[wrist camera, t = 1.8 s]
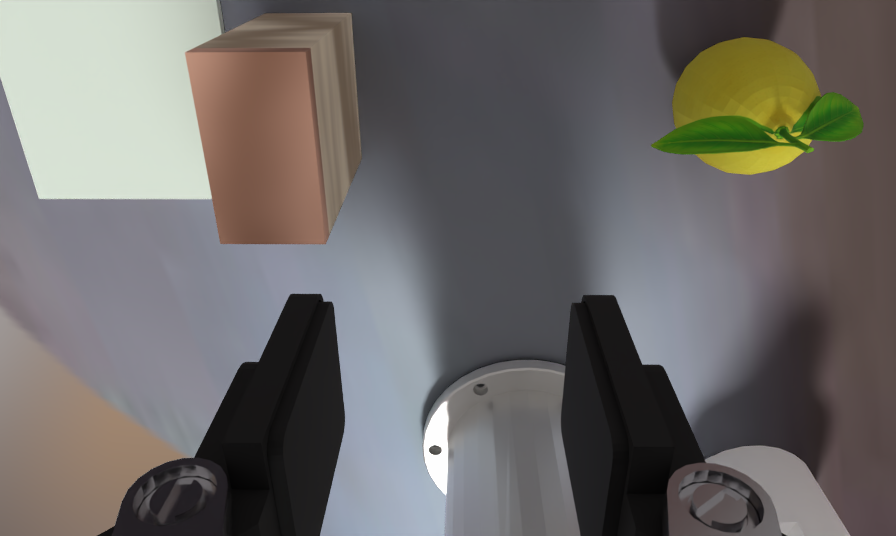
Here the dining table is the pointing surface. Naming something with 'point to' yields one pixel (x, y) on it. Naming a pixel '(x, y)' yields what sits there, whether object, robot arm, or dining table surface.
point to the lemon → (753, 108)
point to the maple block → (278, 125)
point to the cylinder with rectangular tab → (786, 489)
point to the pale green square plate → (107, 95)
